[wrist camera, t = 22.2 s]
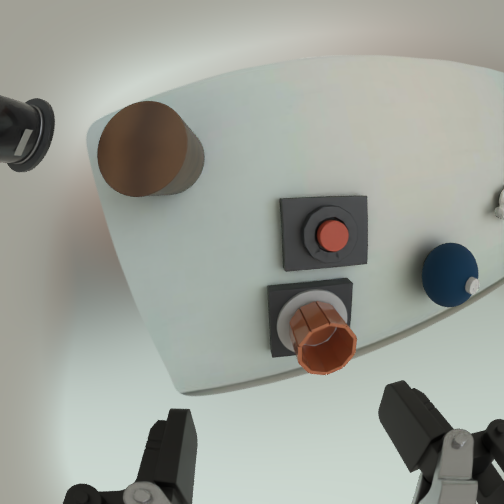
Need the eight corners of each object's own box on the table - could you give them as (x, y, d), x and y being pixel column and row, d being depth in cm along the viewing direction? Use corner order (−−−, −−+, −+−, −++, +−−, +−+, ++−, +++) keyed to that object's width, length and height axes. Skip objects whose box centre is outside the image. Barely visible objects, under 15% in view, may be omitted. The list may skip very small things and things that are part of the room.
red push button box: (283, 267, 32) (287, 275, 30) (279, 198, 31) (283, 199, 28) (362, 260, 33) (372, 266, 30) (361, 195, 31) (372, 196, 28)
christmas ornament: (426, 305, 35) (467, 334, 25) (401, 268, 33) (445, 294, 23) (459, 264, 34) (503, 284, 24) (436, 225, 32) (486, 237, 22)
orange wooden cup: (288, 349, 32) (297, 379, 26) (287, 302, 31) (297, 326, 25) (337, 343, 32) (353, 370, 26) (339, 296, 31) (359, 318, 25)
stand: (140, 198, 30) (99, 203, 20) (136, 132, 28) (97, 112, 19) (207, 190, 30) (190, 190, 21) (202, 122, 29) (185, 93, 19)
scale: (270, 349, 35) (272, 360, 32) (267, 285, 33) (269, 293, 30) (343, 340, 35) (349, 349, 32) (347, 277, 33) (354, 284, 31)
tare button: (317, 250, 29) (320, 252, 28) (316, 220, 29) (319, 221, 27) (344, 247, 30) (348, 250, 28) (344, 218, 29) (348, 220, 28)
